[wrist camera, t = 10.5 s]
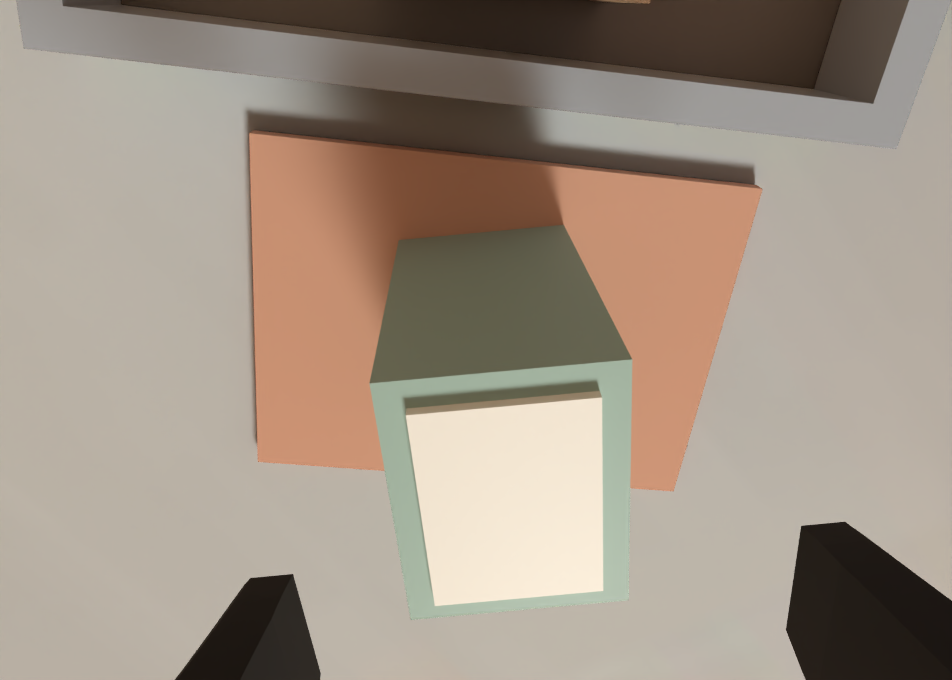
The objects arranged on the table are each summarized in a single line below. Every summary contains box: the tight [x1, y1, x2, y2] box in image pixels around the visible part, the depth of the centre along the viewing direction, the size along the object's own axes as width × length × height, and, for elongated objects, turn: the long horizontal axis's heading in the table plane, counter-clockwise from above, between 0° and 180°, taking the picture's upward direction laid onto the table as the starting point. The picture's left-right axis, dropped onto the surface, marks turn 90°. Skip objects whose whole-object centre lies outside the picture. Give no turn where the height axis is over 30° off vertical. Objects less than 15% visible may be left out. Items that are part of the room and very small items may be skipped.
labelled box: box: [369, 225, 632, 620], centre depth 15 cm, size 4×5×7 cm
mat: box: [249, 130, 762, 491], centre depth 18 cm, size 12×9×1 cm
